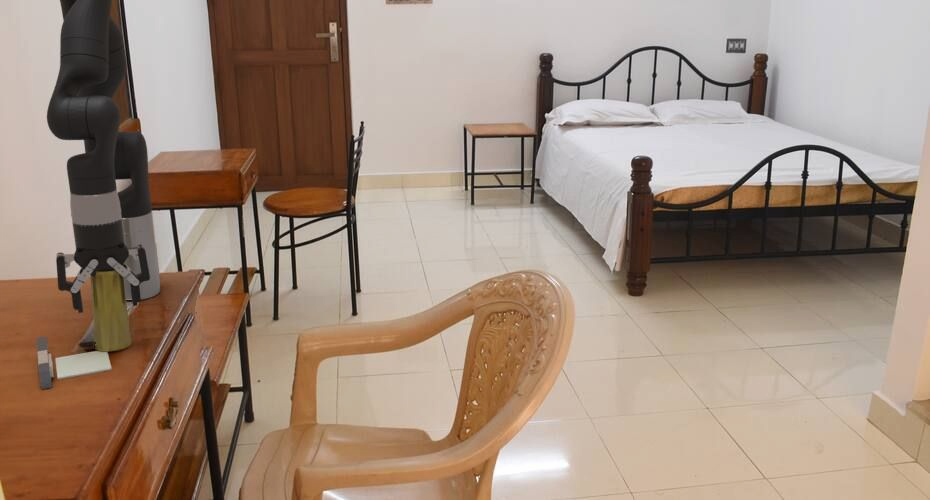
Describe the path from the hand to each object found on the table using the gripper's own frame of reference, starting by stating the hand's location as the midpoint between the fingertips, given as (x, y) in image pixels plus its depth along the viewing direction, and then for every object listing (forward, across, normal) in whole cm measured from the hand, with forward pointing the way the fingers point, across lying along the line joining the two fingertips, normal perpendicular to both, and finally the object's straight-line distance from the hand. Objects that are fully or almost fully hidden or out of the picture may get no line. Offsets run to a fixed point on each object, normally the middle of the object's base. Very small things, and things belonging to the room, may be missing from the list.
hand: (108, 307), depth 138 cm
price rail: (+8, -10, -5) cm, 14 cm away
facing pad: (+8, -5, -5) cm, 10 cm away
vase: (+7, 0, 0) cm, 7 cm away
